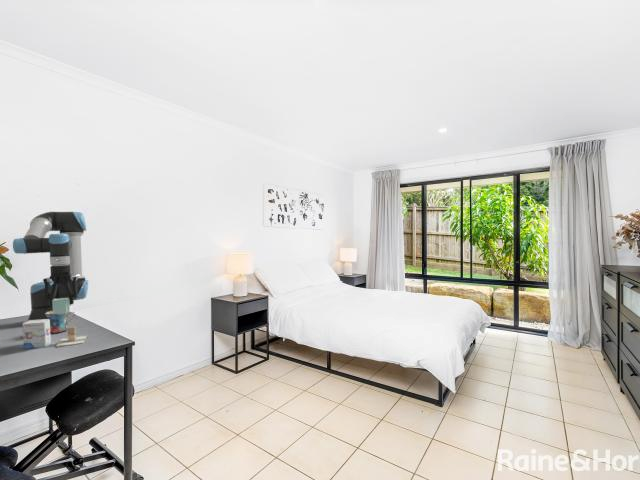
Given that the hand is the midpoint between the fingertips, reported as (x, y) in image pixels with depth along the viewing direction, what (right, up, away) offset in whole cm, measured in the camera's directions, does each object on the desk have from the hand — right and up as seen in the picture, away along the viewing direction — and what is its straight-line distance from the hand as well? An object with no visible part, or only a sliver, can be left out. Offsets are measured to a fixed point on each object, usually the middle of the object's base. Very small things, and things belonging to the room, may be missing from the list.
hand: (62, 311), depth 155 cm
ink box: (-3, -14, -10) cm, 17 cm away
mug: (-10, -13, +11) cm, 20 cm away
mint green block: (0, 0, 0) cm, 0 cm away
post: (+9, -13, -5) cm, 16 cm away
